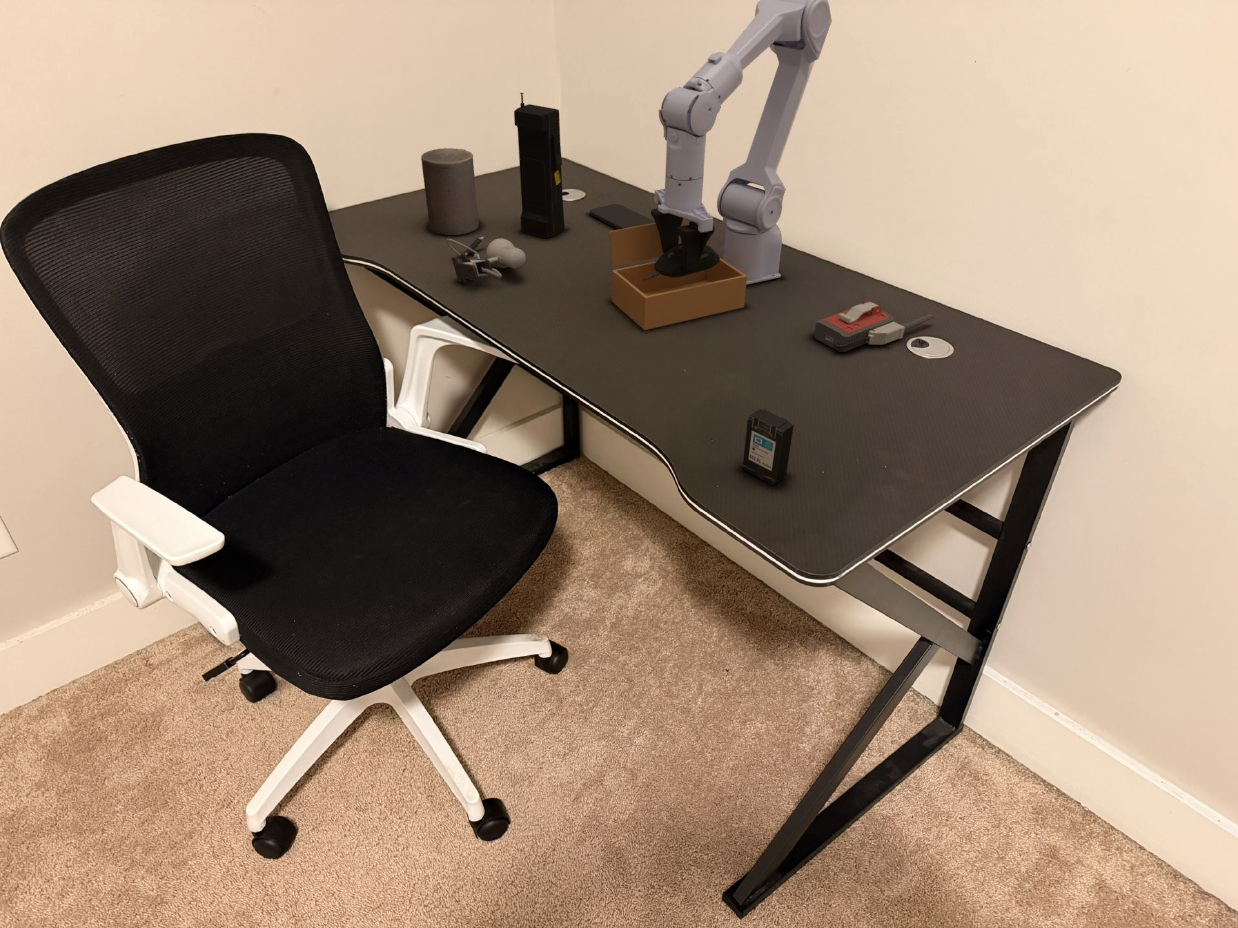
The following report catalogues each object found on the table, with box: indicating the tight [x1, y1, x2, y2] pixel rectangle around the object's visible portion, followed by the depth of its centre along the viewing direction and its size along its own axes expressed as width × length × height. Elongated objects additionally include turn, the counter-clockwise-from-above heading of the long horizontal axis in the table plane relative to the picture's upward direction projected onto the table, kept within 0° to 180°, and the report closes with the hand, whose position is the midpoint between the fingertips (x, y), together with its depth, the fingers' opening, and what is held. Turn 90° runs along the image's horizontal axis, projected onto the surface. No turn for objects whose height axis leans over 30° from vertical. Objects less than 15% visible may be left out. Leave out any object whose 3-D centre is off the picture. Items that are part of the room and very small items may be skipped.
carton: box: [611, 257, 747, 331], centre depth 141 cm, size 18×12×6 cm, turn 117°
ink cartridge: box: [741, 408, 795, 486], centre depth 102 cm, size 5×2×8 cm, turn 46°
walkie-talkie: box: [813, 300, 934, 353], centre depth 133 cm, size 9×4×20 cm
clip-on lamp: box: [446, 236, 527, 283], centre depth 151 cm, size 12×6×18 cm
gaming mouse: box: [643, 243, 721, 281], centre depth 137 cm, size 6×15×4 cm, turn 128°
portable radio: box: [513, 92, 566, 239], centre depth 160 cm, size 8×6×25 cm
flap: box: [609, 212, 711, 267], centre depth 141 cm, size 18×6×1 cm
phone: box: [589, 203, 655, 230], centre depth 172 cm, size 7×1×15 cm
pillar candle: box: [420, 147, 479, 236], centre depth 165 cm, size 10×10×15 cm
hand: (679, 260), depth 138 cm, fingers closed on gaming mouse, 6 cm apart
